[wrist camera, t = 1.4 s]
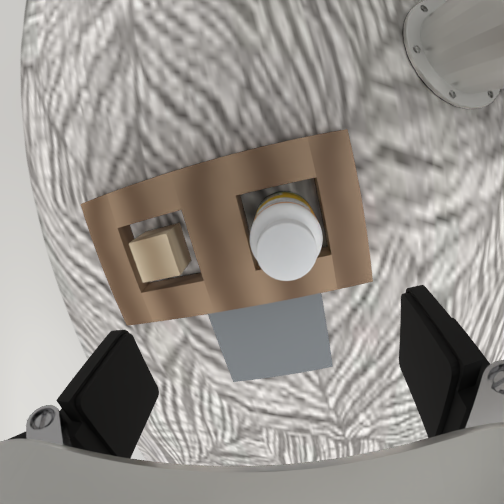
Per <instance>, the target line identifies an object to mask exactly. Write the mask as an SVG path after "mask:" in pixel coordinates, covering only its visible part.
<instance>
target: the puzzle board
mask: <svg viewBox="0 0 504 504" xmlns="http://www.w3.org/2000/svg"><path fill="white" fill-rule="evenodd" d="M311 178H314V180H315V185H316V189H317V194H318V199H319V203H320V208H321V213H322V218H323V223H324V229H325V234H326V239H327V245H328V246H326V247H321V250H320V253H319V255H318V257H317V258H316V261H315V264H314V265H313V267H312V269H311V270H310V271H309V272H308V273H307V274H306V275H304V276H303V277H301V278H299V279H296V280H292V281H281V280H277V279H274V278H272V277H270V276H269V275H267V274H266V273H265V272H264V271H263V270H262V268H261V267H260V265H259V263H258V261H257V260H256V258H255V257H254V255H253V253H252V250H251V247H250V231H249V227H248V223H247V219H246V216H245V212H244V208H243V204H242V201H241V197H240V194H244V193H249V192H253V191H257V190H261V189H266V188H270V187H274V186H279V185H283V184H288V183H292V182H297V181H301V180H306V179H311ZM81 207H82V210H83V213H84V217H85V220H86V223H87V226H88V229H89V232H90V235H91V238H92V240H93V243H94V246H95V249H96V252H97V254H98V257H99V260H100V262H101V265H102V268H103V270H104V273H105V275H106V278H107V280H108V283H109V285H110V288H111V290H112V293H113V295H114V297H115V300H116V302H117V304H118V307H119V309H120V311H121V313H122V316H123V318H124V320H125V322H126V324H127V325H135V324H142V323H150V322H157V321H164V320H171V319H178V318H185V317H191V316H198V315H204V314H210V313H216V312H222V311H228V310H234V309H240V308H246V307H251V306H257V305H262V304H268V303H273V302H278V301H283V300H289V299H294V298H299V297H304V296H309V295H313V294H318V293H323V292H328V291H332V290H337V289H342V288H346V287H351V286H355V285H360V284H364V283H368V282H373V280H372V270H371V261H370V253H369V245H368V237H367V230H366V223H365V217H364V211H363V204H362V199H361V193H360V187H359V182H358V177H357V171H356V166H355V161H354V157H353V152H352V147H351V143H350V139H349V134H348V130H347V129H346V130H340V131H334V132H329V133H323V134H318V135H313V136H308V137H303V138H298V139H294V140H289V141H284V142H280V143H276V144H271V145H267V146H263V147H259V148H254V149H250V150H246V151H242V152H239V153H235V154H231V155H227V156H223V157H220V158H216V159H213V160H209V161H206V162H202V163H199V164H195V165H192V166H189V167H185V168H182V169H179V170H175V171H172V172H169V173H166V174H163V175H160V176H157V177H154V178H151V179H148V180H145V181H142V182H139V183H136V184H133V185H130V186H127V187H125V188H122V189H119V190H116V191H114V192H111V193H108V194H106V195H103V196H100V197H98V198H95V199H93V200H90V201H87V202H85V203H82V204H81ZM179 210H182V213H183V217H184V220H185V223H186V226H187V230H188V233H189V236H190V239H191V243H192V246H193V249H194V252H195V255H196V258H197V261H198V265H199V268H200V271H201V273H196V274H191V275H187V276H182V277H177V278H172V279H167V280H162V281H157V282H152V283H150V281H149V282H144V283H143V282H142V279H141V276H140V274H139V271H138V268H137V266H136V263H135V260H134V257H133V254H132V252H131V249H130V246H129V243H130V242H131V241H133V240H134V237H133V234H132V231H131V228H130V224H133V223H136V222H140V221H143V220H147V219H150V218H154V217H157V216H161V215H164V214H168V213H171V212H175V211H179Z"/></svg>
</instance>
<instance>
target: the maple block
mask: <svg viewBox="0 0 504 504" xmlns="http://www.w3.org/2000/svg"><path fill="white" fill-rule="evenodd" d="M129 246H130V249H131V252H132V254H133V257H134V260H135V263H136V266H137V268H138V271H139V274H140V276H141V279H142V282H143V283H144V282H149V281H154V280H159V279H164V278H169V277H174V276H179V275H181V274H182V272H183V271H184V270H185V268H186V267H187V265H188V264H189V263H190V261H191V257H190V254H189V251H188V248H187V244H186V241H185V238H184V235H183V232H182V228H181V225H180V223H177V224H173V225H169V226H165V227H162V228H158V229H154V230H150V231H147V232H144V233H143V234H141V235H140V236H139V237H137V238H136V239H134V240H133V241H131V242H130V243H129Z"/></svg>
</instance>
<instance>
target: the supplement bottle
mask: <svg viewBox="0 0 504 504" xmlns="http://www.w3.org/2000/svg"><path fill="white" fill-rule="evenodd" d="M322 241H323V237H322V230H321V227H320V224H319V222H318V220H317V218H316V216H315V214H314V212H313V210H312V209H311V207H310V205H309V204H308V203H307V201H306V200H305V199H304V198H302V197H301V196H299V195H297V194H295V193H292V192H286V191H284V192H277V193H274V194H272V195H270V196H268V197H267V198H266V199H264V200H263V201H262V203H261V204H260V206H259V207H258V210H257V212H256V215H255V218H254V221H253V224H252V227H251V232H250V247H251V250H252V253H253V255H254V257H255V258H256V260H257V261H258V263H259V265H260V267H261V268H262V270H263V271H264V272H265V273H266V274H267V275H269V276H270V277H272V278H274V279H277V280H281V281H292V280H296V279H299V278H301V277H303V276H304V275H306V274H307V273H308V272H309V271H310V270H311V269H312V267H313V265H314V264H315V261H316V258H317V257H318V255H319V253H320V250H321V247H322Z"/></svg>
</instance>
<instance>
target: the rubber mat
mask: <svg viewBox="0 0 504 504" xmlns="http://www.w3.org/2000/svg"><path fill="white" fill-rule="evenodd" d="M208 315H209V318H210V321H211V324H212V327H213V329H214V332H215V335H216V337H217V340H218V343H219V345H220V348H221V351H222V353H223V356H224V359H225V361H226V364H227V366H228V369H229V371H230V374H231V377H232V379H233V382H237V381H245V380H254V379H261V378H269V377H276V376H282V375H289V374H295V373H301V372H306V371H312V370H317V369H323V368H328V367H333V365H332V358H331V351H330V345H329V338H328V332H327V325H326V319H325V313H324V307H323V301H322V296H321V293H318V294H313V295H309V296H304V297H299V298H294V299H289V300H283V301H278V302H273V303H268V304H262V305H257V306H251V307H246V308H240V309H234V310H228V311H222V312H216V313H210V314H208Z"/></svg>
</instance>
